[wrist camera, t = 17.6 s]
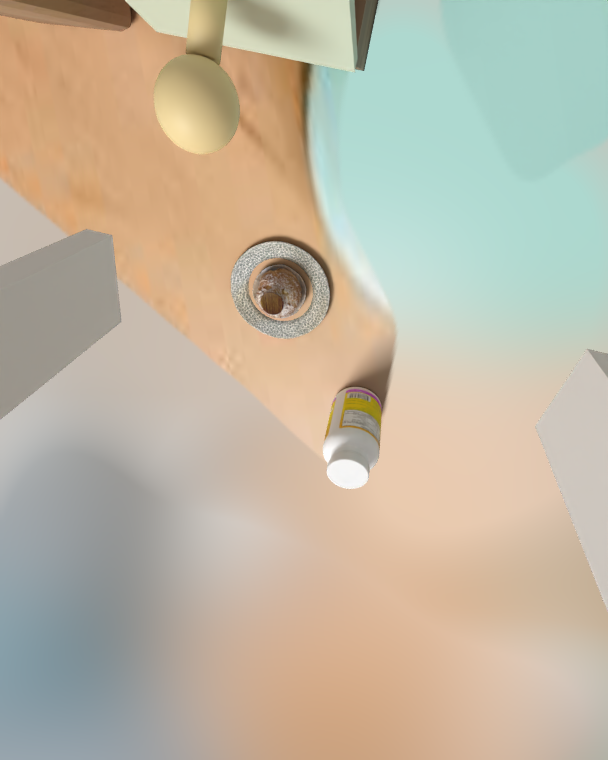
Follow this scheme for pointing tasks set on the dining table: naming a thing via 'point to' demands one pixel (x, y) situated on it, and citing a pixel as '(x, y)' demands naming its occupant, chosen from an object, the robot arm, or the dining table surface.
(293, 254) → the speckled grey ring
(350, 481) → the supplement bottle
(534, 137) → the dining table surface
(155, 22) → the lid
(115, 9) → the block
